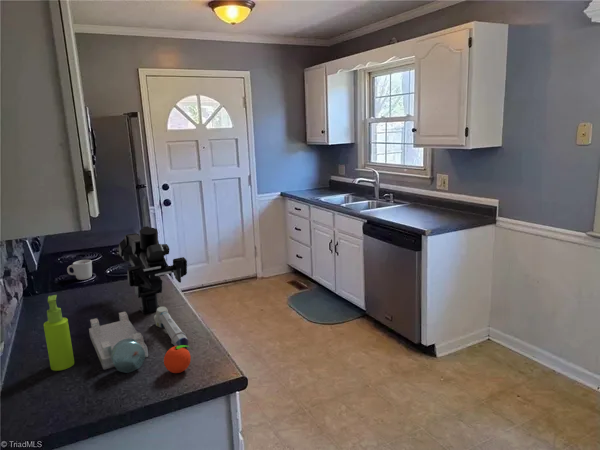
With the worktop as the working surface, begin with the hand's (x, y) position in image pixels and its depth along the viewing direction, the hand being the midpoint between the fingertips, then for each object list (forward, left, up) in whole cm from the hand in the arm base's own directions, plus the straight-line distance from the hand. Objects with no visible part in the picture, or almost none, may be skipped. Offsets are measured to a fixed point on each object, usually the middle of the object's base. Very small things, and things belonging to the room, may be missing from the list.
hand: (166, 284), depth 135 cm
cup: (-87, -16, -17) cm, 90 cm away
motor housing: (+1, -16, -17) cm, 23 cm away
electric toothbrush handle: (+1, 0, -17) cm, 17 cm away
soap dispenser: (0, -31, -17) cm, 35 cm away
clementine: (+24, -5, -17) cm, 30 cm away
